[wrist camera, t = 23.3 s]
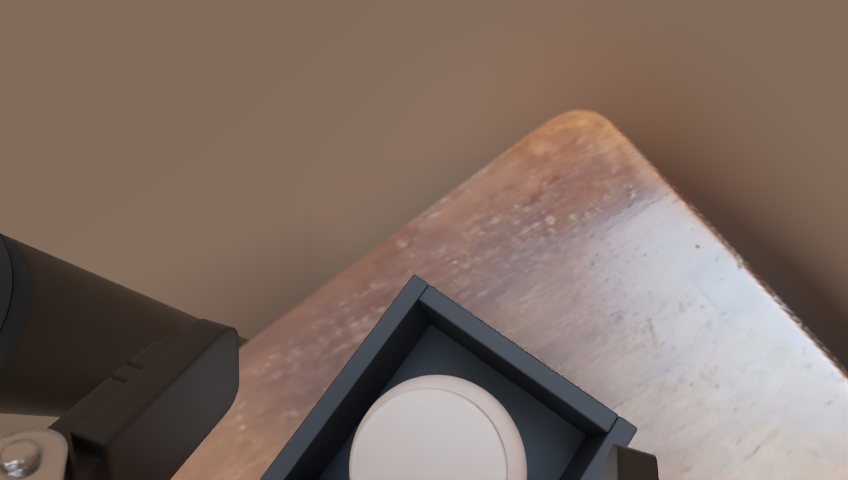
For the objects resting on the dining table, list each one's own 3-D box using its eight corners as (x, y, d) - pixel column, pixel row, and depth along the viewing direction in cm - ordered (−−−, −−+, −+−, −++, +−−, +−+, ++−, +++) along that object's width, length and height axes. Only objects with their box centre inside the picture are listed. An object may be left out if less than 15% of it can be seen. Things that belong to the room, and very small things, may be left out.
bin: (301, 480, 29) (251, 489, 23) (429, 306, 31) (413, 273, 25) (480, 636, 26) (476, 693, 20) (607, 431, 28) (638, 428, 22)
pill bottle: (386, 393, 29) (325, 364, 18) (512, 388, 28) (523, 354, 18) (387, 534, 27) (320, 589, 16) (523, 531, 26) (543, 587, 16)
